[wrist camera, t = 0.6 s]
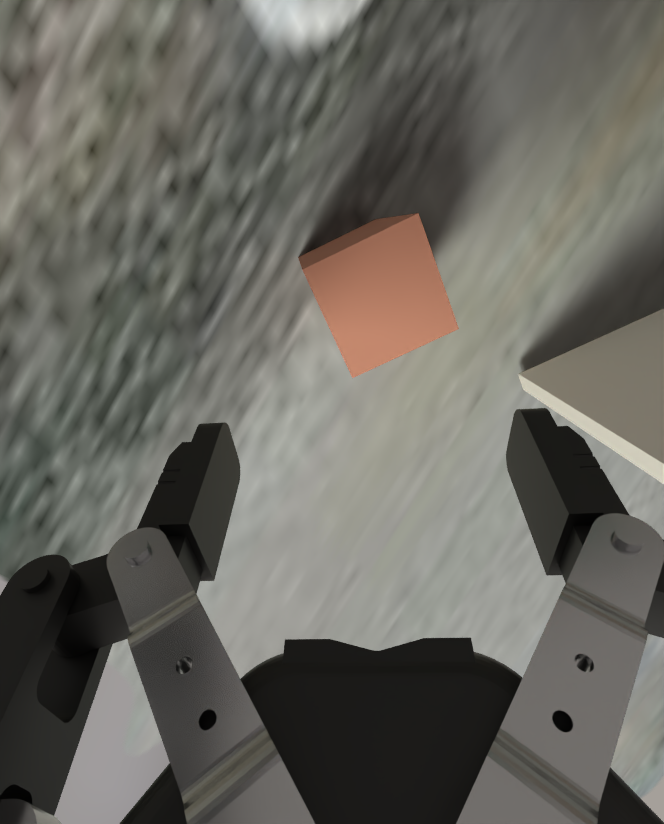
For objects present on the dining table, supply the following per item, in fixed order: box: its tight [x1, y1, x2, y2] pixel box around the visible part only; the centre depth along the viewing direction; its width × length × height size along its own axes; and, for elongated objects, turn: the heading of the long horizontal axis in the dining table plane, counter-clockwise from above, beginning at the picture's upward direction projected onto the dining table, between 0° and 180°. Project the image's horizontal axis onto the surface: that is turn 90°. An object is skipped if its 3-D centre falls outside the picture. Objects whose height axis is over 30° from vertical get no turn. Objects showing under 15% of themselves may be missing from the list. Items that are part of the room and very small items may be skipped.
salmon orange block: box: [298, 213, 459, 378], centre depth 23 cm, size 5×5×10 cm
